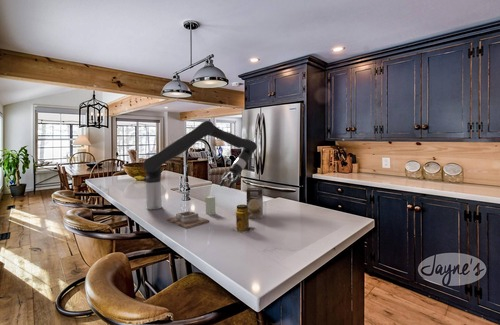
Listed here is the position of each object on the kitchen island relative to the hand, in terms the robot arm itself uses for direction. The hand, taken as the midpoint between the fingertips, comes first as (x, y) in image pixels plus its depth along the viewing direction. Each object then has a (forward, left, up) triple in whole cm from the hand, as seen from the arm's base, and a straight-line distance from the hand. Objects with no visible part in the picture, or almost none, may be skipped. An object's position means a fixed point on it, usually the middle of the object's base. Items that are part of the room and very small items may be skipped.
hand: (224, 186), depth 162 cm
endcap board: (+2, -28, -15) cm, 32 cm away
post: (0, -11, -15) cm, 19 cm away
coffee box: (+24, +2, -15) cm, 28 cm away
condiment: (+34, -16, -15) cm, 41 cm away
